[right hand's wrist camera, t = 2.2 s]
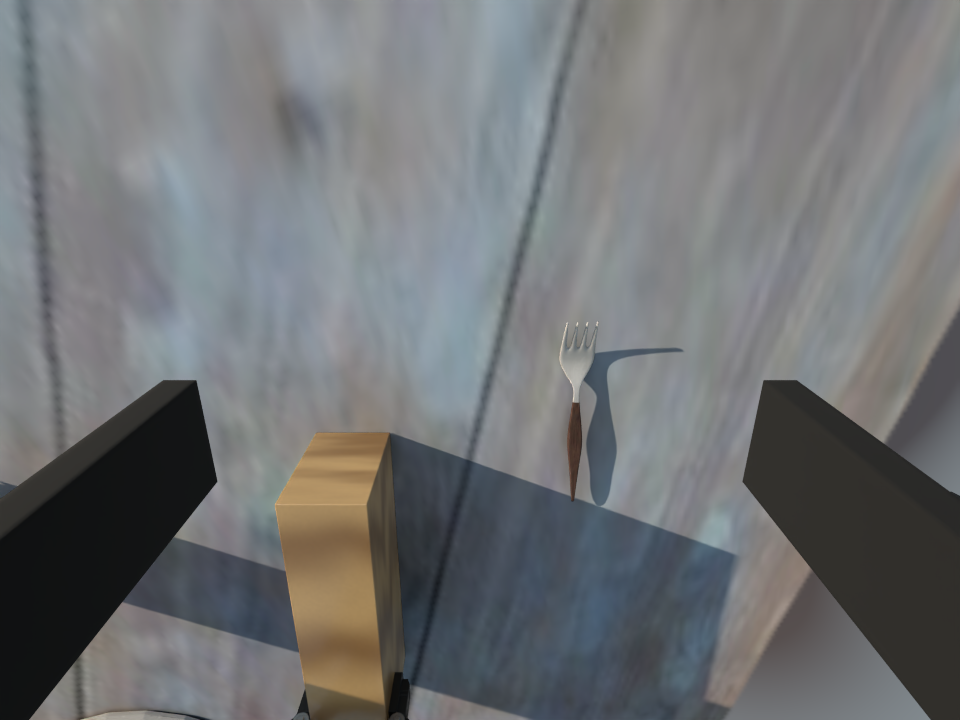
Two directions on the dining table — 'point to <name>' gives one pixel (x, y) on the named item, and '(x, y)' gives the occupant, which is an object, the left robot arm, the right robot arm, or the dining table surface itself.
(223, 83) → the dining table surface
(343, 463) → the bar
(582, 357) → the fork
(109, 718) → the wall clock
